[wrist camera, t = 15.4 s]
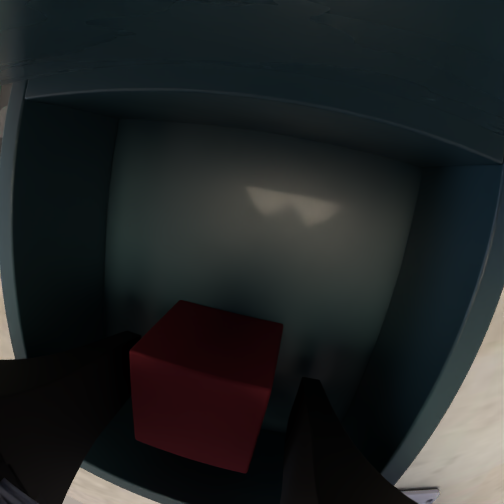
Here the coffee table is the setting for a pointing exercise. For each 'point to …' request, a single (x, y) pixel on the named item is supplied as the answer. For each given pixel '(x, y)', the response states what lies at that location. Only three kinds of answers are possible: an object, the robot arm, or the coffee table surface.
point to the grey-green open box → (254, 246)
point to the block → (204, 383)
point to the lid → (277, 43)
